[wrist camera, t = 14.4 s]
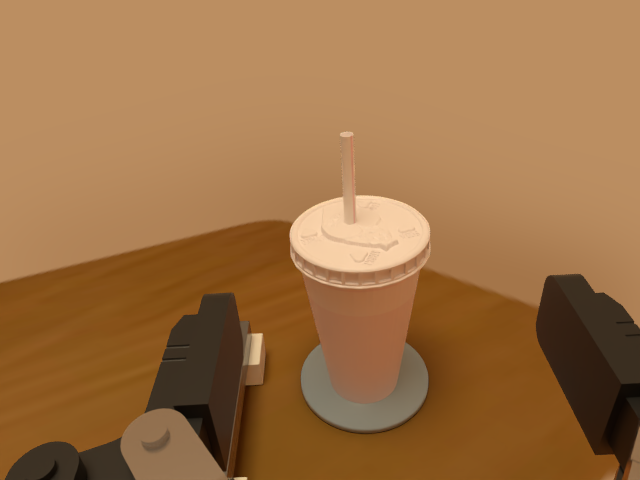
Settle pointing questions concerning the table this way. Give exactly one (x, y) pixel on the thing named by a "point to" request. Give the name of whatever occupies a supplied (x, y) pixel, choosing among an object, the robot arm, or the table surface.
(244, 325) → the steel bar
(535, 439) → the table surface
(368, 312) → the smoothie
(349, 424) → the pad
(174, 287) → the table surface
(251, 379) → the hurdle stand
